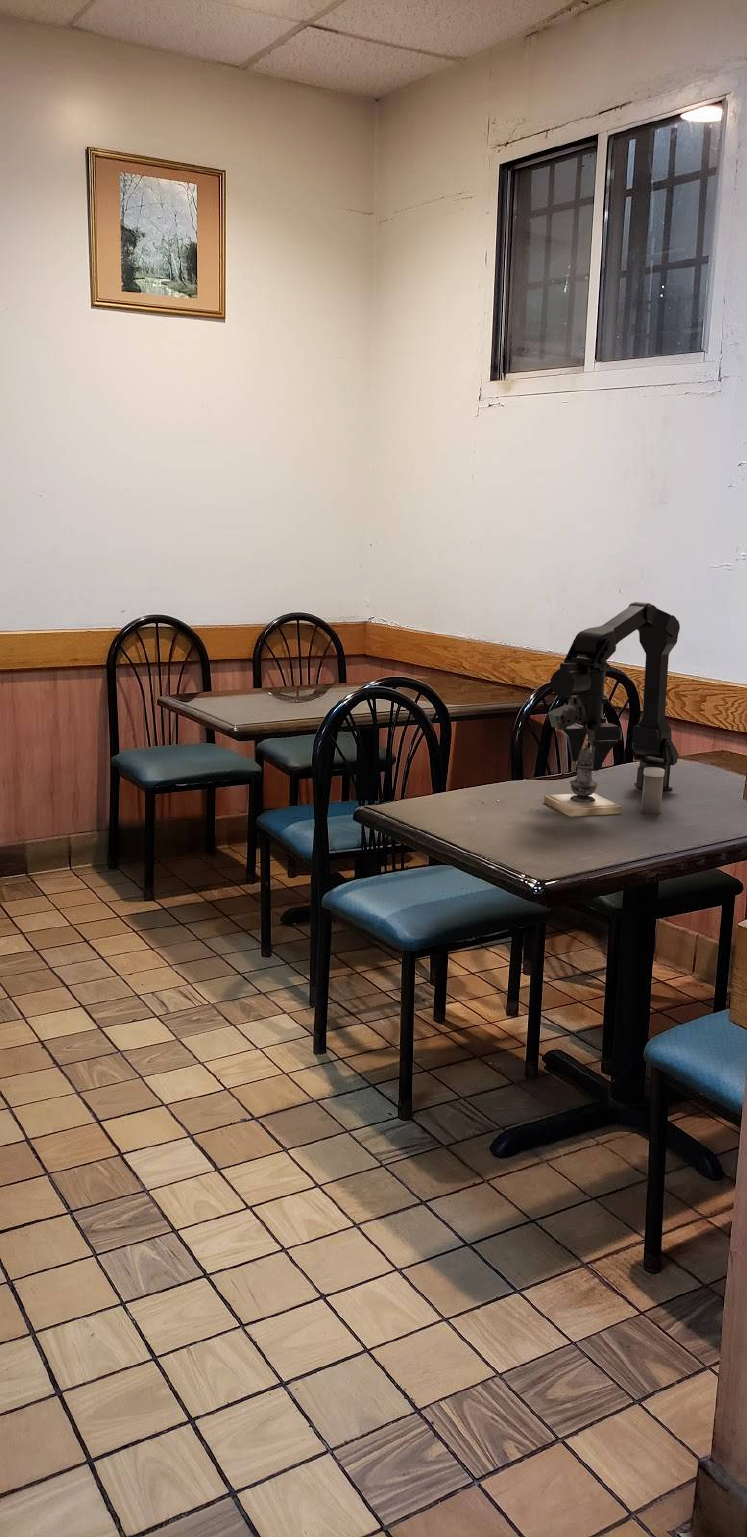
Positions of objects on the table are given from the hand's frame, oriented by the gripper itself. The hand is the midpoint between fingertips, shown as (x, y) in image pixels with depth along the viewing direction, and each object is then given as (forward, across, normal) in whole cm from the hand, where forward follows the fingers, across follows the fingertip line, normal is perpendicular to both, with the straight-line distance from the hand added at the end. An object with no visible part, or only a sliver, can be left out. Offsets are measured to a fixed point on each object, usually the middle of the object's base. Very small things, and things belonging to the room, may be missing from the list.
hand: (584, 766), depth 249 cm
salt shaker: (+8, 0, 0) cm, 8 cm away
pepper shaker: (+9, +6, +13) cm, 17 cm away
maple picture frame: (+9, 0, 0) cm, 9 cm away
